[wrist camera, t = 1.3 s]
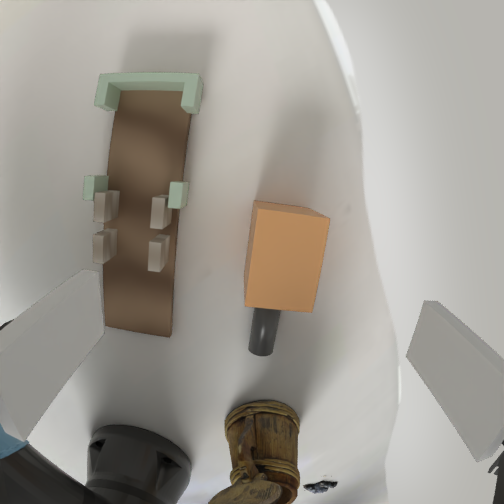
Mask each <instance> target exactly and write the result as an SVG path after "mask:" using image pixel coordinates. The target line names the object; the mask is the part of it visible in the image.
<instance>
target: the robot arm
mask: <svg viewBox="0 0 504 504" xmlns="http://www.w3.org/2000/svg"><path fill="white" fill-rule="evenodd" d="M104 333H105V332H104V324H103V315H102V305H101V294H100V281H99V272H98V271H91V270H84V269H82V270H81V271H80V272H78V273H77V274H75V275H74V276H72V277H71V278H70V279H68V280H67V281H65V282H64V283H62V284H61V285H60V286H58V287H57V288H56V289H54V290H53V291H51V292H50V293H49V294H47V295H46V296H45V297H43V298H42V299H40V300H39V301H38V302H36V303H35V304H34V305H32V306H31V307H30V308H29V309H27V310H26V311H25V312H23V313H22V314H21V315H19V316H18V317H17V318H16V319H13V320H11V321H9V322H6V323H4V324H3V325H2V326H1V327H0V504H176V503H177V502H178V500H179V499H180V497H181V496H182V494H183V492H184V491H185V489H186V488H187V486H188V484H189V481H190V476H191V463H190V461H189V459H188V457H187V456H186V455H185V453H184V452H183V451H182V450H181V449H179V448H178V447H177V446H176V445H174V444H173V443H172V442H170V441H168V440H167V439H165V438H163V437H161V436H159V435H157V434H155V433H152V432H150V431H147V430H144V429H140V428H136V427H132V426H125V425H110V426H105V427H102V428H100V429H98V430H97V431H96V432H95V433H94V435H93V437H92V439H91V441H90V443H89V446H88V458H87V482H86V485H85V486H84V485H82V484H81V483H79V482H78V481H76V480H75V479H74V478H72V477H71V476H69V475H68V474H67V473H65V472H64V471H62V470H61V469H60V468H58V467H57V466H56V465H54V464H53V463H52V462H51V461H49V460H48V459H47V458H46V457H44V456H43V455H42V454H41V453H39V452H38V451H37V450H36V449H35V448H33V447H32V446H31V445H30V444H29V442H28V441H27V440H26V439H27V437H28V436H29V434H30V433H31V431H32V430H33V428H34V427H35V426H36V424H37V423H38V421H39V420H40V418H41V417H42V416H43V414H44V413H45V411H46V410H47V408H48V407H49V406H50V404H51V403H52V401H53V400H54V399H55V397H56V396H57V395H58V393H59V392H60V390H61V389H62V388H63V386H64V385H65V384H66V382H67V381H68V380H69V378H70V377H71V376H72V374H73V373H74V372H75V370H76V369H77V368H78V366H79V365H80V364H81V362H82V361H83V360H84V358H85V357H86V356H87V355H88V353H89V352H90V351H91V349H92V348H93V347H94V346H95V344H96V343H97V342H98V341H99V339H100V338H101V337H102V335H103V334H104ZM406 357H407V359H408V360H409V362H410V363H411V364H412V366H413V367H414V369H415V370H416V371H417V373H418V374H419V376H420V377H421V379H422V380H423V381H424V383H425V384H426V386H427V387H428V389H429V390H430V391H431V393H432V394H433V396H434V397H435V399H436V400H437V402H438V403H439V405H440V406H441V408H442V409H443V411H444V412H445V414H446V415H447V417H448V418H449V420H450V421H451V423H452V424H453V426H454V427H455V429H456V430H457V432H458V433H459V435H460V436H461V438H462V440H463V441H464V443H465V444H466V446H467V448H468V449H469V451H470V452H471V454H472V456H473V457H474V459H475V460H476V462H479V461H482V460H484V459H487V458H489V457H491V456H493V454H494V453H495V452H496V450H497V449H498V448H499V446H500V445H501V444H503V445H504V359H503V358H502V357H501V356H499V354H498V353H497V352H495V351H494V350H493V349H492V348H491V347H490V346H489V345H487V343H485V342H484V341H483V340H482V339H481V338H480V337H479V336H478V335H477V334H475V333H474V332H473V331H472V330H471V329H470V328H469V327H468V326H466V325H465V324H464V323H463V322H462V321H461V320H460V319H458V318H457V317H456V316H455V315H454V314H453V313H451V312H450V311H449V310H448V309H447V308H445V307H444V306H443V305H442V304H441V303H439V302H438V301H424V303H423V306H422V309H421V313H420V316H419V319H418V322H417V325H416V328H415V331H414V334H413V337H412V340H411V343H410V346H409V349H408V351H407V354H406ZM496 466H499V468H498V469H497V470H496V471H495V473H494V474H495V475H498V476H497V483H496V489H495V495H494V500H493V504H504V451H503V452H502V453H501V455H500V456H499V457H498V459H497V460H496V461H495V462H494V463H493V465H492V466H491V467H490V469H489V471H488V473H491V472H492V471H493V469H494V468H495V467H496Z"/></svg>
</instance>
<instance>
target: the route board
mask: <svg viewBox="0 0 504 504" xmlns="http://www.w3.org/2000/svg"><path fill="white" fill-rule="evenodd" d="M182 95H183V91H162V90H121V93H120V99H119V104H118V110H117V111H115V116H114V123H113V129H112V136H111V144H110V152H109V161H108V170H107V176H109V180H108V191H101V192H95V199H94V218H93V222H101V223H104V230H103V231H100V232H98V233H96V234H94V235H93V263H99V264H103V289H104V312H105V326H107V327H112V328H118V329H123V330H128V331H133V332H139V333H145V334H151V335H157V336H163V337H169V338H170V336H171V334H172V312H173V290H174V272H175V257H176V244H177V231H178V220H179V209H176V208H168V200H169V190H170V182H174V181H183V172H184V164H185V156H186V149H187V141H188V134H189V127H190V121H191V114H192V113H187V112H186V111H185V110H184V109H183V108H182V107H181V101H182Z"/></svg>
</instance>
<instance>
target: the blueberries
mask: <svg viewBox="0 0 504 504" xmlns="http://www.w3.org/2000/svg"><path fill="white" fill-rule="evenodd" d="M323 477H326V476H323ZM331 477H332V476H331ZM336 485H337V482H328V481H321V482H318V483H316V484H306V485H303V486H304V488H305V489H306V490H309V491H310V492H313V493H323V492H326V491H327V490H328V488H329V487H330V488H334V487H335V486H336Z"/></svg>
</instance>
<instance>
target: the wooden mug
mask: <svg viewBox="0 0 504 504" xmlns="http://www.w3.org/2000/svg"><path fill="white" fill-rule="evenodd" d="M299 426H300V424H299V418H298V416H297V414H296V412H295V411H294V410H293V409H291V408H290V407H288V406H287V405H286V404H283V403H280V402H277V401H258V402H252V403H249V404H245V405H242V406H240V407H238V408H237V409H235V410H234V411H233V412H231V413H230V414H229V415H228V417H227V418H226V420H225V436H226V439H227V441H228V443H229V449H230V455H231V461H232V468H233V470H232V471H231V473H230V480H231V484H232V485H231V486H230V487H228V488H226V489H224V490H222V491H220V492H219V493H217V494H216V495H215V496H214V497H213V498H212V499H211V500H210V501H209V503H208V504H291V503H292V502H293V501H294V500H295V499H296V497H297V489H298V488H299V486H300V474H299V471H298V469H297V458H298V434H299Z"/></svg>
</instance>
